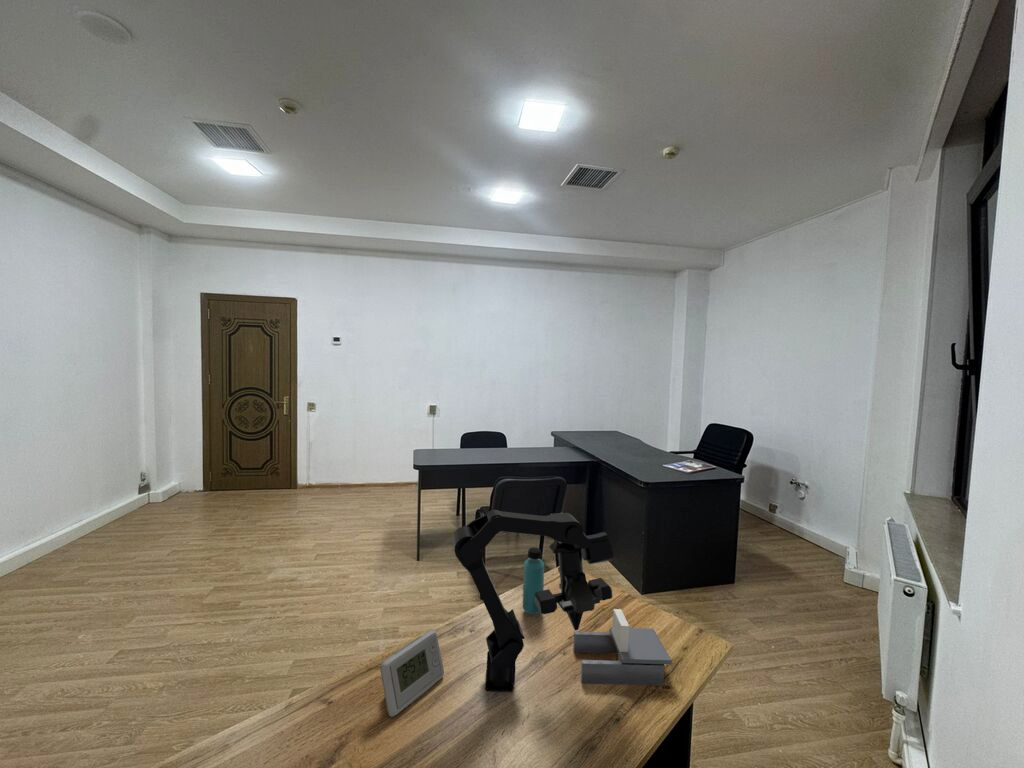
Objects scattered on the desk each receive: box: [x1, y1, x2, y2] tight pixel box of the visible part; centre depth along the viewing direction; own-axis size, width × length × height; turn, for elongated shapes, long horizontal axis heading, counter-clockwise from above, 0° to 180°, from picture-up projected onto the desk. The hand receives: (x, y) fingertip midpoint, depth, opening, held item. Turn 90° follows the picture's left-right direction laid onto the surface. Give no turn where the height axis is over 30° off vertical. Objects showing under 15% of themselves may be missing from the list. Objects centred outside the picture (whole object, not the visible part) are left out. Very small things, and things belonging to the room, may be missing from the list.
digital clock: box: [379, 629, 445, 718], centre depth 94 cm, size 16×9×11 cm, turn 133°
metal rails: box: [572, 630, 666, 687], centre depth 105 cm, size 20×12×5 cm, turn 91°
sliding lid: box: [609, 608, 673, 665], centre depth 105 cm, size 12×12×8 cm
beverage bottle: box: [521, 547, 545, 615], centre depth 126 cm, size 6×7×20 cm
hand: (575, 629), depth 101 cm, fingers closed
